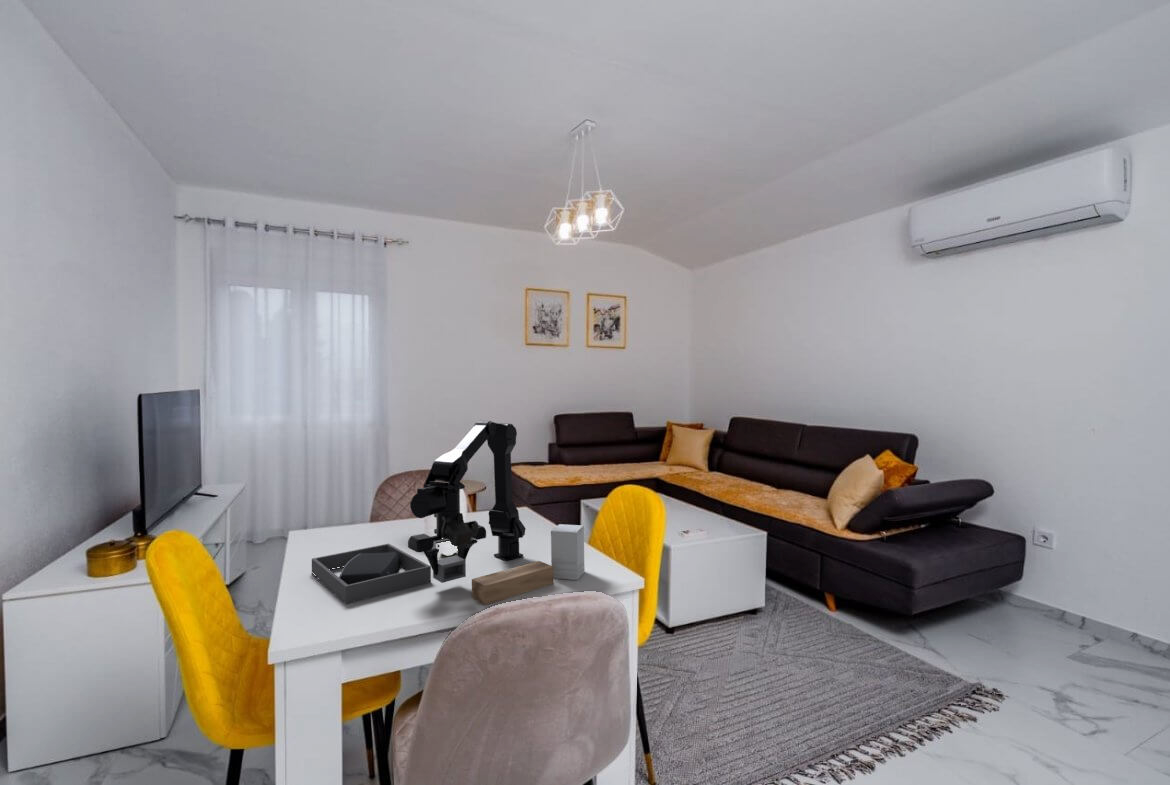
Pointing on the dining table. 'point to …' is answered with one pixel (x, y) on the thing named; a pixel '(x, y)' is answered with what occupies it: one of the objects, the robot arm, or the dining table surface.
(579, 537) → the supplement box
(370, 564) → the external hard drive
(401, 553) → the bumper frame
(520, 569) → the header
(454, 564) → the box
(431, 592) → the dining table surface
